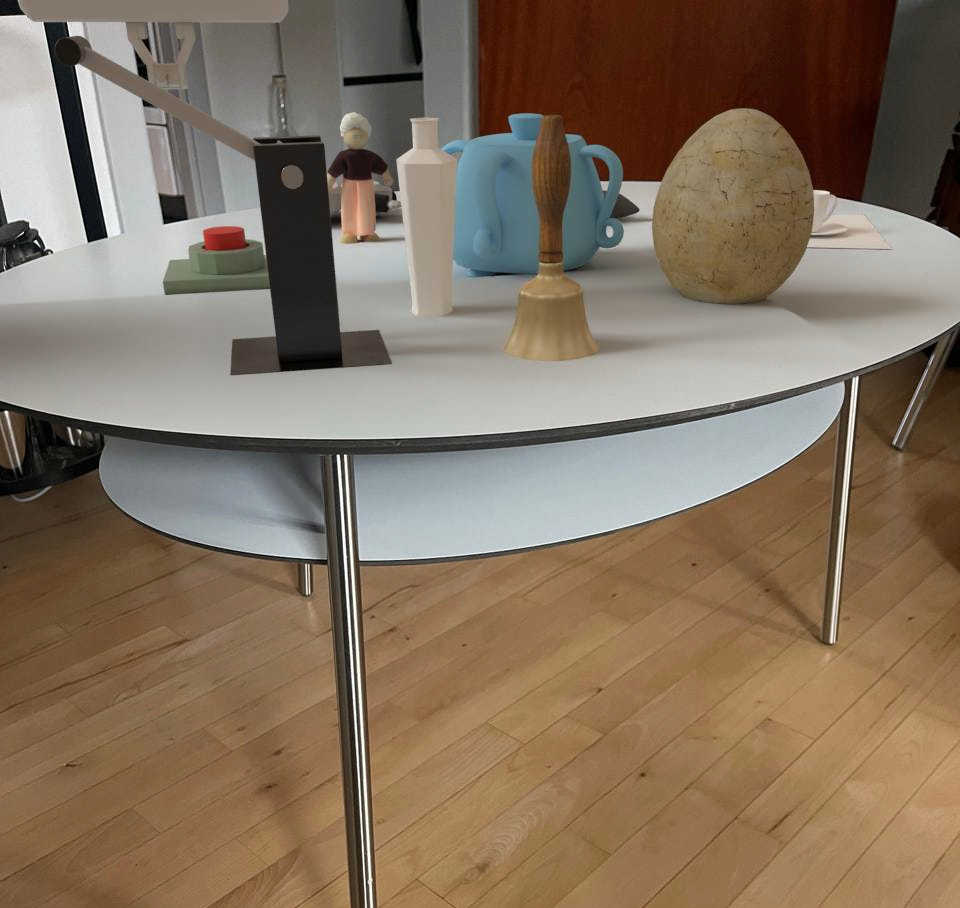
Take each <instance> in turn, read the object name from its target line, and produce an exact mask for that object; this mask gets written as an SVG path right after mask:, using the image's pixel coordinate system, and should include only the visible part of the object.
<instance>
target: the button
mask: <svg viewBox="0 0 960 908" xmlns="http://www.w3.org/2000/svg"><path fill="white" fill-rule="evenodd" d="M202 235H203V242H204V243H205V250H212V251H227V250H236V249H242V248H246V240H245V239H246V234H245V228H244V227H241V226H235V225H225V226H223V225H221V226H213V227H207V228H205V229H203V230H202Z"/></svg>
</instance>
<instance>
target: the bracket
mask: <svg viewBox="0 0 960 908" xmlns="http://www.w3.org/2000/svg"><path fill="white" fill-rule="evenodd" d="M252 139H253V140H254V141H256V142H258V143H260V144H254V145H253V149H254V157H255V161H254V165H255V172H256V183H257V190H258V191H257V192H258V199H259V208H260V216H261V223H262V231H263V241H264V251H265V255H266V259H267V267H268V275H269V284H270V289H269V292H270V301H271V307H272V317H273V325H274V333H275V336H262V337H261V336H260V337H245V338H244V337H243V338H233V339H232V340H231V356H230V369H229V370H230V371H229V376H243V375H259V374H272V373H286V372H301V371H315V370H329V369H331V370H332V369H343V368H344V369H345V368H357V367H358V368H359V367H374V366H375V367H376V366H388V365H393V362H392V359H391V356H390V353H389V351H388V349H387V346H386V344H385V341H384V338H383V336H382V334H381V331H380V329H370V330H369V329H368V330H367V329H366V330H354V331H341V324H340V312H339V301H338V300H339V299H338V289H337V276H336V265H335V264H336V263H335V255H334V242H333V229H332V220H331V219H332V218H331V215H330V205H329V193H328V181H327V174H328V169H327V159H326V149H325V143H324V141H322V137H321V135H320V134H314V135H288V136H261V137H260V136H258V137H257V136H256V137H255V136H254V137H253V138H252ZM277 141H281V142H283V143H277Z"/></svg>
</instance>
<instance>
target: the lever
mask: <svg viewBox="0 0 960 908" xmlns="http://www.w3.org/2000/svg"><path fill="white" fill-rule="evenodd" d="M54 55H55V57H56V58H57V60H58V61H59V62H60V63H61V64H62V65H64V66H67V67H74V66H78V65H80V66H82V67H83V68H85V69H87V70H89V71H91V72H92V73H95V75H98V76H100V77H102V78H103V79H105V80H107V81H109V82H111V83H112V84H114V85H116V86H118V87H120V88H122V89H123V90H125V91H127V92H128V93H131V94H132V95H134V96H136V97H138V98H139V99H141V100H143V101H145V102H147V103H148V104H151V105H153V106H154V107H156V108H158V109H159V110H162V111H163V112H165V113H167V114H169V115H170V116H172V117H174V118H176V119H177V120H179V121H181V122H184V123H185V124H187V125H189V126H190V127H193V128H194V129H196V130H198V131H199V132H202V133H203V134H205V135H206V136H209V137H210V138H213V139H214V140H215V141H218V142H219V143H221V144H223V145H225V146H227V147H229V148H230V149H232V150H234V151H236V152H238V153H239V154H242V155H243V156H245V157H247V158H248V159H250V160H252V161H254V162H255V157H254V149H253V145H254V144H260V143H258V142H256V141H254V140H253V138H251V137H249V136H247V135H245V134H244V133H242V132H240V131H238V130H236V129H234V128H233V127H231V126H230V125H228V124H226V123H224V122H222V121H221V120H219V119H217V118H215V117H213V116H211V115H210V114H208V113H206V112H204V111H202V110H201V109H200V108H197V107H195V106H194V105H192V104H190V103H189V102H186V101H184V100H183V99H181V98H180V97H178V96H176V95H175V94H172V93H170V92H168V91H167V90H166V89H161V88H160V87H158V86H156V85H154V84H152V83H151V82H149V80H147V79H145V78H144V77H142V76H140V75H138V74H136V73H135V72H133V71H131V70H129V69H127V68H126V67H124V66H122V65H120V64H119V63H116V62H115V61H113V60H111V59H109V58H108V57H106V56H104V55H102V54H101V53H98V52H97V51H95V50H94V49H93V48H92V44H91V43H90V41H89V40H88V39H87V38H86V37H84V36H81V35H72V36H67V37H61V38H59V39H58V40H56V43H55V45H54ZM277 143H283V142H281V141H277Z"/></svg>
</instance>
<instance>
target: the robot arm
mask: <svg viewBox="0 0 960 908" xmlns="http://www.w3.org/2000/svg"><path fill="white" fill-rule="evenodd" d="M17 3H18V6H19V9H20V11H22V12H23V14H24V15H25V16H26V17H27V18H28V19H29V20H30V21H31V22H33V23H124V24H125V29H126V37H127V40H128V42H129V43H130V45H131V46H132V48H133V49H134V51H135V52H136V53H137V55H138V57H139V58H140V60H141V61H142V63H143V64H144V65H146V71H147V79H148V81H149V82H151V83H152V84H154V85H156V86H158V87H160V88H161V89H163V90H188V89H189V85H188V84H189V83H188V78H187V70H186V69H187V68H186V64H187V62H188V60H189V57H190V56H191V52H192V51H193V48H194V45H195V42H196V38H197V37H196V28H195V23H272V24H273V23H274V24H275V23H277V24H278V23H282V22H283V20H284V19H285V18H286V17H287V15H288V13H289V0H17ZM147 23H174V31H175V37H176V39H177V40H183V43H182V45H181V47H180V51H179V53H178V55H177V59H176V60H175V61H176V62H174V63H170V62H169V63H161V62H159V63H157V62H156V60H155V58H154V57H153V56H152V54H151V52H150V50H149V49H148V47H146V44H145V43H144V41H143V40H147V39H148V38H149V33H148V25H147Z"/></svg>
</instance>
